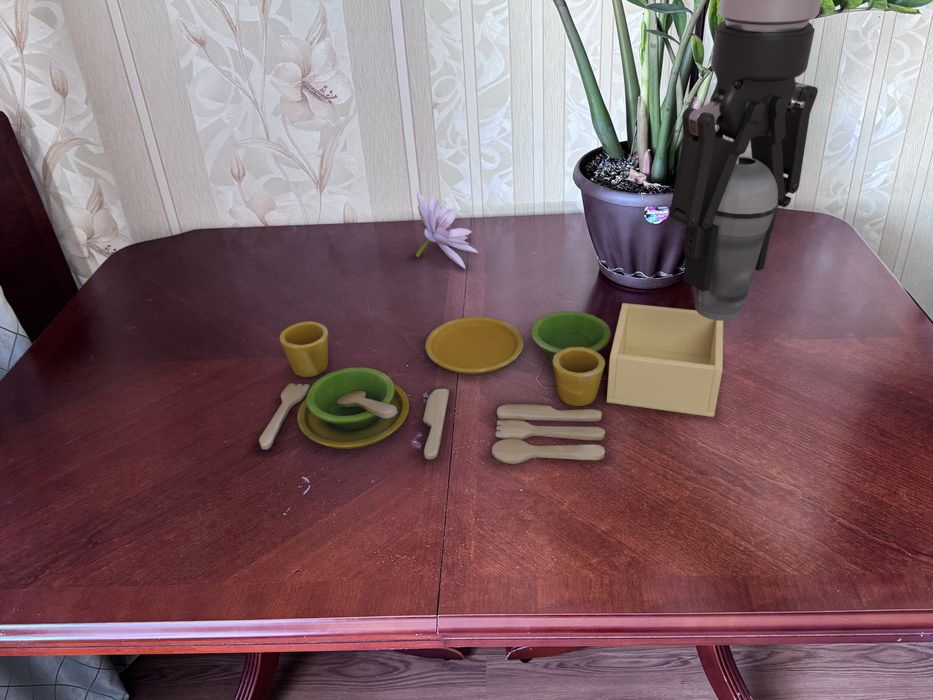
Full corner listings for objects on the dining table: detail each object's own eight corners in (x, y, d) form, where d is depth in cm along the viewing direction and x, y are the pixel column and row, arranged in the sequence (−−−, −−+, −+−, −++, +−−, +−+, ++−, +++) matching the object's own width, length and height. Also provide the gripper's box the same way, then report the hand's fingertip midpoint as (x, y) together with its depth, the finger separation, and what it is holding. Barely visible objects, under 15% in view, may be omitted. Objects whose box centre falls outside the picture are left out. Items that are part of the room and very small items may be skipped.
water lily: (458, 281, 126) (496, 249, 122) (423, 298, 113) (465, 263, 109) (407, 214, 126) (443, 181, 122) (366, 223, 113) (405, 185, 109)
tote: (715, 357, 92) (723, 313, 89) (713, 417, 83) (722, 370, 79) (618, 346, 96) (622, 302, 92) (606, 402, 86) (609, 356, 82)
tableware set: (243, 454, 82) (230, 410, 78) (314, 322, 104) (306, 283, 101) (619, 469, 77) (623, 423, 73) (606, 327, 99) (609, 286, 96)
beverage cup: (756, 332, 70) (800, 123, 59) (678, 323, 72) (705, 119, 61) (756, 295, 76) (795, 98, 64) (683, 287, 78) (709, 95, 66)
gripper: (810, -1, 65) (764, 235, 78) (639, 32, 58) (620, 287, 71) (887, 10, 60) (823, 262, 73) (709, 47, 52) (674, 321, 65)
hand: (723, 274), depth 72 cm, fingers closed on beverage cup, 6 cm apart
